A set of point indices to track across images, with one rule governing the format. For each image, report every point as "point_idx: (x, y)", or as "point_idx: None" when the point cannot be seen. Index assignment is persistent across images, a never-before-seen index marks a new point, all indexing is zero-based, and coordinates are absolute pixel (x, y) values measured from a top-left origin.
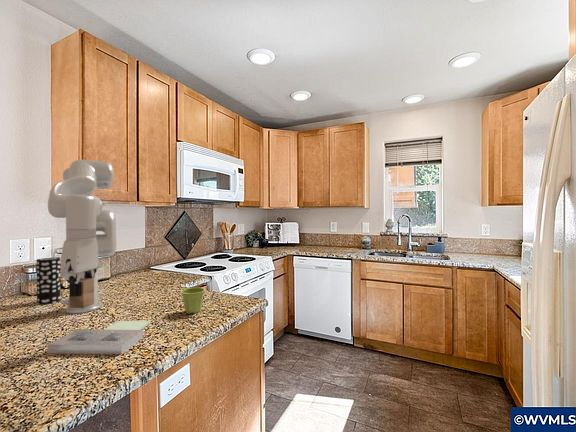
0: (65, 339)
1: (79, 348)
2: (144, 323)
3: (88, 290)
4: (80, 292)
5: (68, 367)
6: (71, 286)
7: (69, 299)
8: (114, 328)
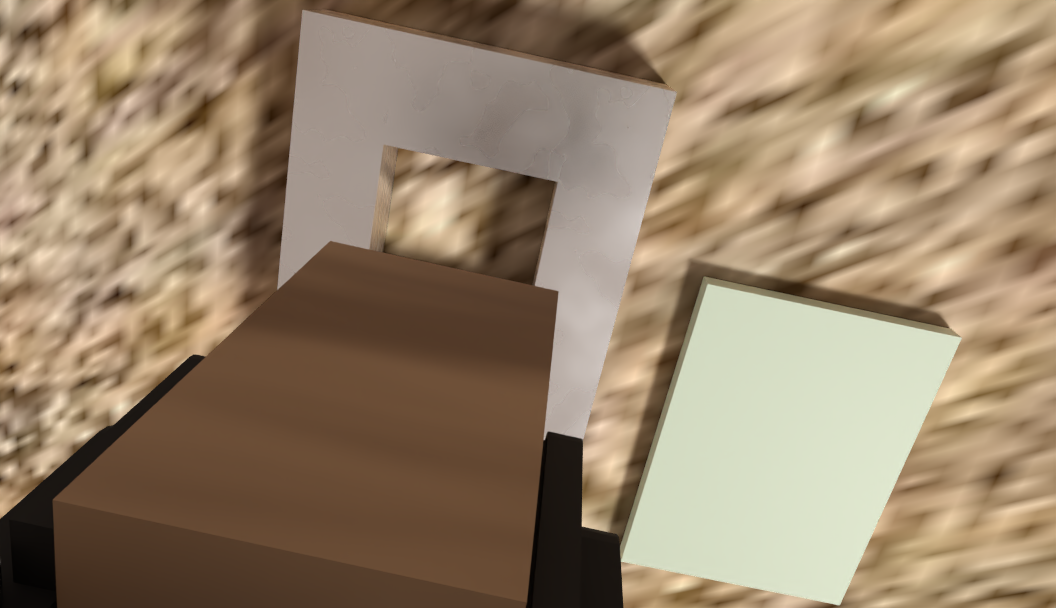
0: (407, 120)
1: None
2: (793, 577)
3: None
4: None
5: (100, 314)
6: (7, 545)
7: (280, 290)
8: (738, 377)
